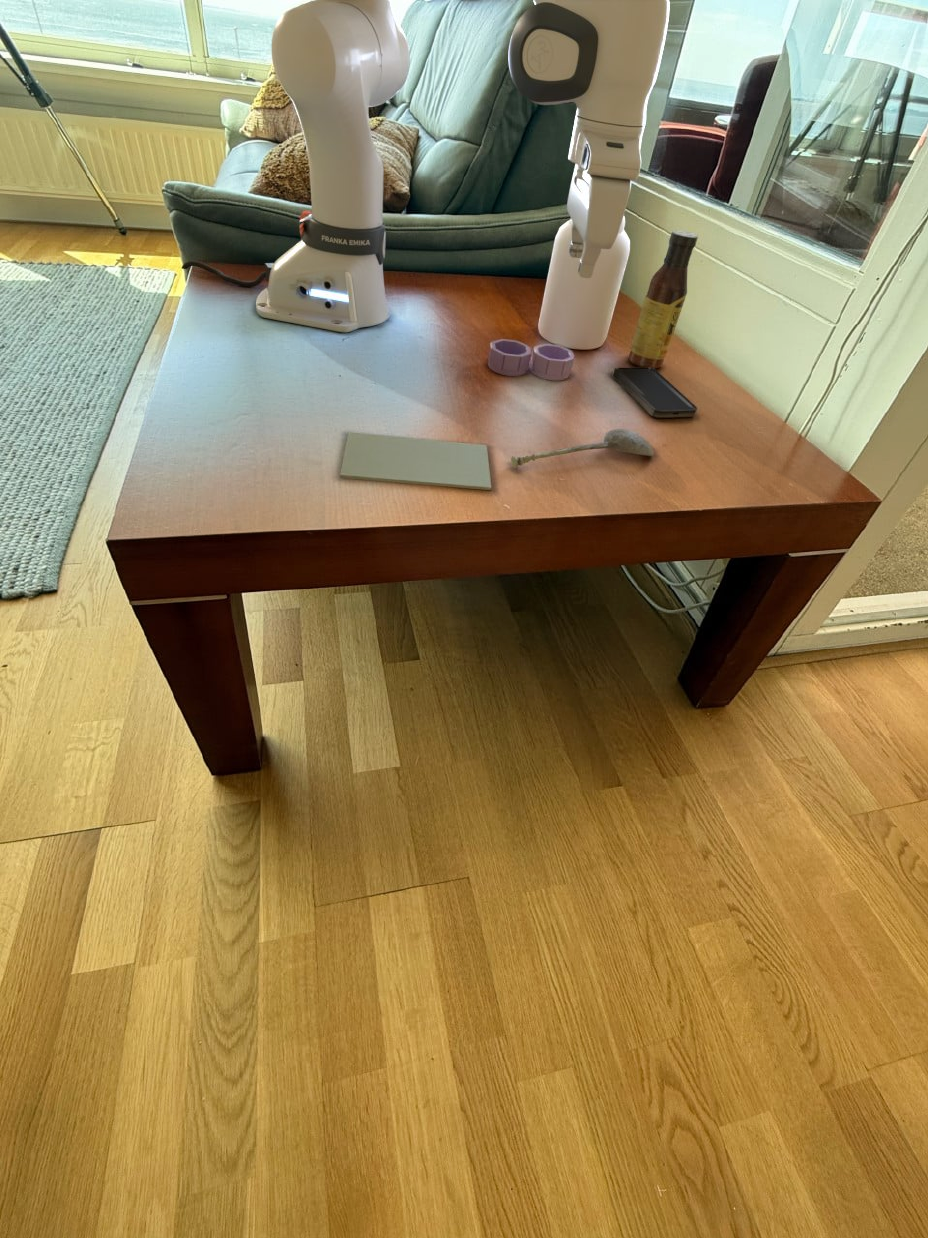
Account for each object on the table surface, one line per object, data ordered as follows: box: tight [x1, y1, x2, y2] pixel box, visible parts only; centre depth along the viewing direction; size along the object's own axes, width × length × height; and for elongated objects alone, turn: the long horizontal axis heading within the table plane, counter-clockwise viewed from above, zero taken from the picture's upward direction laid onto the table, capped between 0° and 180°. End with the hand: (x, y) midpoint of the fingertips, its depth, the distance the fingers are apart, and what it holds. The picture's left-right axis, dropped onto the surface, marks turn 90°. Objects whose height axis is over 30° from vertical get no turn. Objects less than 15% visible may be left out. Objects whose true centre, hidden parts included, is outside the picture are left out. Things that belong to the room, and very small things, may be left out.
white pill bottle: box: [537, 215, 631, 350], centre depth 108 cm, size 12×12×20 cm
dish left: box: [487, 338, 532, 377], centre depth 101 cm, size 6×6×3 cm
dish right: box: [530, 343, 575, 382], centre depth 102 cm, size 6×6×3 cm
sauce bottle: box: [628, 230, 698, 369], centre depth 103 cm, size 6×6×20 cm
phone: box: [612, 366, 698, 419], centre depth 100 cm, size 8×1×15 cm
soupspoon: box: [510, 428, 655, 470], centre depth 83 cm, size 22×3×7 cm
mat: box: [339, 432, 492, 491], centre depth 78 cm, size 18×10×1 cm, turn 92°
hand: (579, 265), depth 91 cm, fingers open, 8 cm apart
